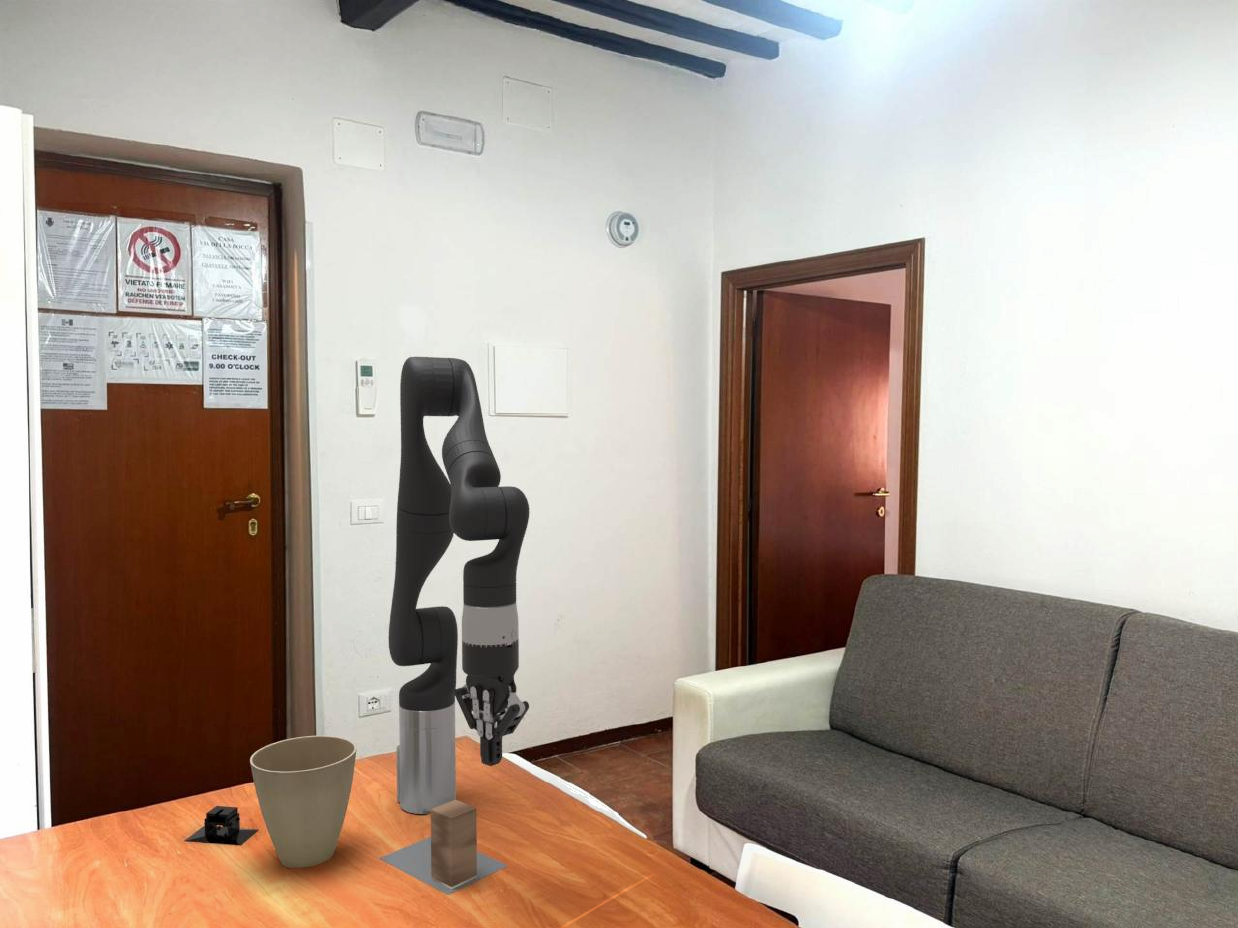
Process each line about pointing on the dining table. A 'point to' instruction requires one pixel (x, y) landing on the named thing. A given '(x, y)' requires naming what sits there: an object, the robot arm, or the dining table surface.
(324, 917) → the dining table surface
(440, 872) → the walnut block
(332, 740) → the plant pot
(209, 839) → the slotted block on plate
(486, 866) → the rubber mat
